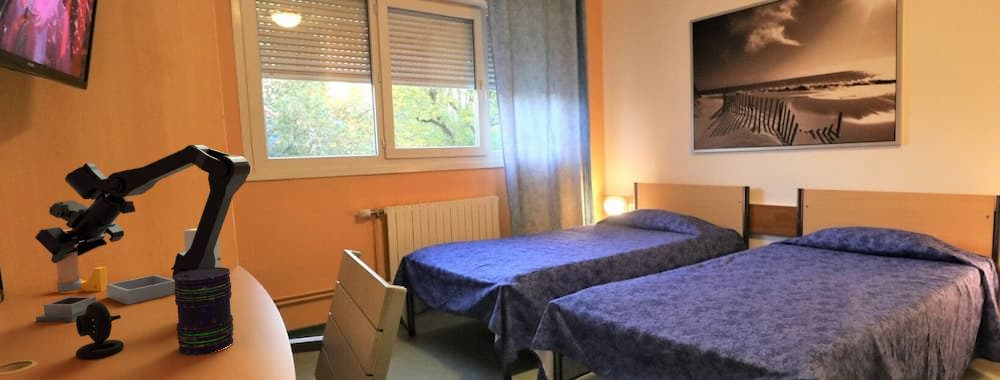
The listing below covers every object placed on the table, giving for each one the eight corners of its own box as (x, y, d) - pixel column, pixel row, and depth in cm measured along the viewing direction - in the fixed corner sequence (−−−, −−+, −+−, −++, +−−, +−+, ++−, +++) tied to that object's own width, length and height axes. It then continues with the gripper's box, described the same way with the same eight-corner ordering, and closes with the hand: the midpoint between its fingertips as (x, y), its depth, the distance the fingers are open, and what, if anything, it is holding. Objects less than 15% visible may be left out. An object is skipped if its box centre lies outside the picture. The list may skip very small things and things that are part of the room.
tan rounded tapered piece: (86, 286, 127) (81, 229, 126) (70, 292, 123) (65, 232, 122) (69, 286, 128) (64, 229, 126) (52, 291, 123) (47, 232, 122)
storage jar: (227, 333, 113) (223, 264, 112) (240, 346, 106) (236, 273, 104) (173, 345, 107) (168, 272, 105) (183, 360, 99) (178, 282, 98)
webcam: (69, 354, 102) (65, 304, 102) (114, 342, 109) (110, 294, 108) (84, 363, 98) (80, 311, 97) (130, 350, 104) (127, 300, 103)
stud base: (104, 309, 130) (103, 295, 130) (72, 321, 121) (71, 307, 121) (70, 308, 131) (69, 295, 130) (36, 321, 122) (34, 306, 121)
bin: (177, 293, 144) (176, 280, 144) (127, 304, 134) (126, 291, 134) (156, 286, 151) (155, 274, 150) (107, 297, 141) (106, 284, 140)
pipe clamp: (54, 293, 145) (51, 270, 145) (67, 289, 150) (65, 266, 149) (96, 293, 145) (94, 270, 144) (108, 289, 149) (106, 266, 149)
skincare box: (201, 280, 158) (198, 230, 157) (185, 278, 160) (182, 230, 158) (223, 273, 166) (220, 226, 165) (207, 272, 168) (204, 225, 166)
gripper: (109, 185, 132) (71, 229, 134) (39, 193, 114) (-4, 243, 115) (141, 217, 132) (103, 260, 134) (76, 229, 114) (33, 279, 116)
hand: (61, 259), depth 125 cm, fingers closed on tan rounded tapered piece, 4 cm apart
